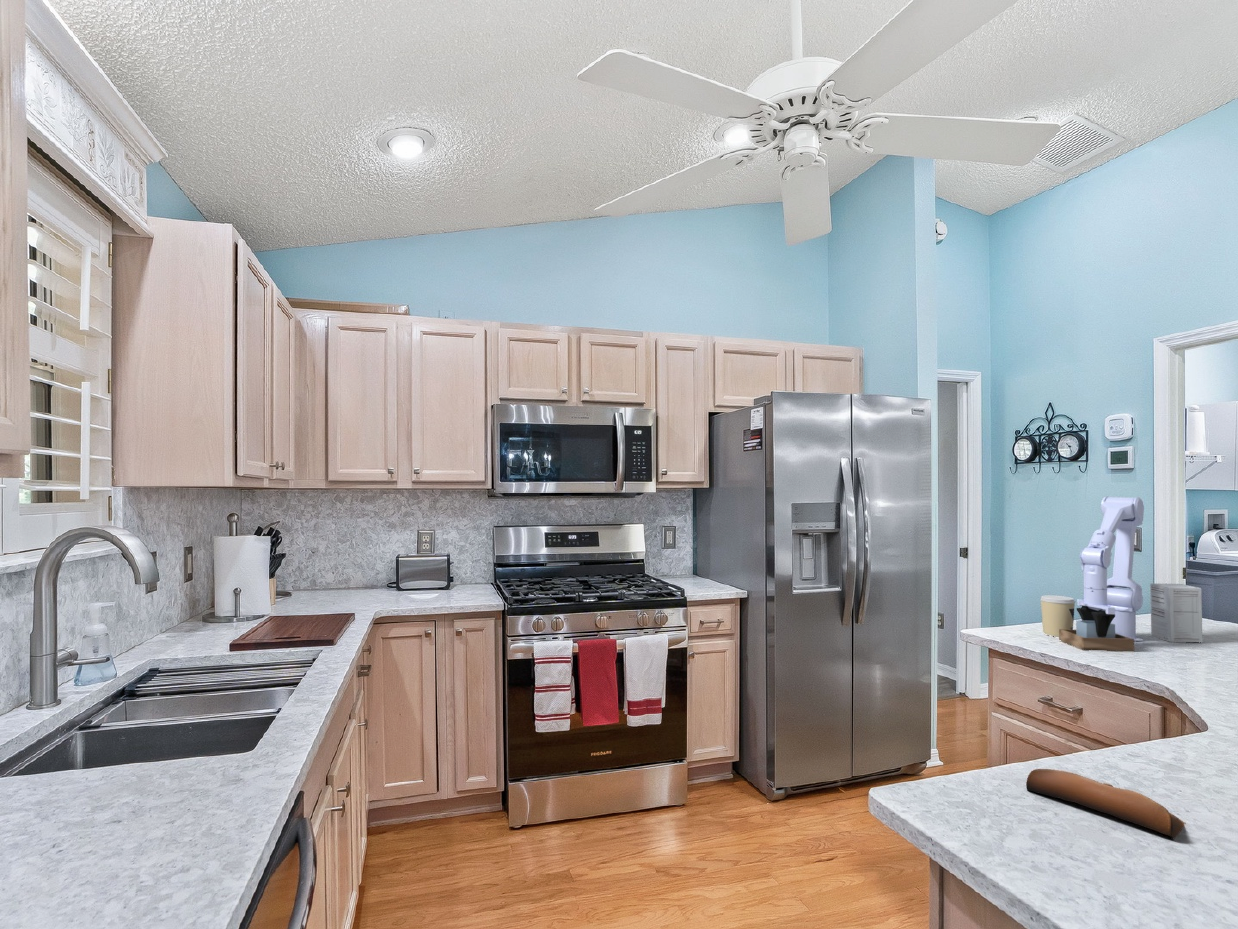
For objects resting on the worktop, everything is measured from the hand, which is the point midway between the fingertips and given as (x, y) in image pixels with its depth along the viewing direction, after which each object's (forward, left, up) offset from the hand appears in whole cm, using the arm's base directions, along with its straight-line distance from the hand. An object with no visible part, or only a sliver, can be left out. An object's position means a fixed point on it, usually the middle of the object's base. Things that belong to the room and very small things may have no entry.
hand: (1095, 634), depth 202 cm
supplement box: (-13, +32, -4) cm, 35 cm away
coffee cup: (-14, -3, -4) cm, 15 cm away
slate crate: (0, 0, -1) cm, 1 cm away
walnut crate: (0, 0, -3) cm, 3 cm away
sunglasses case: (+107, -64, -4) cm, 125 cm away
